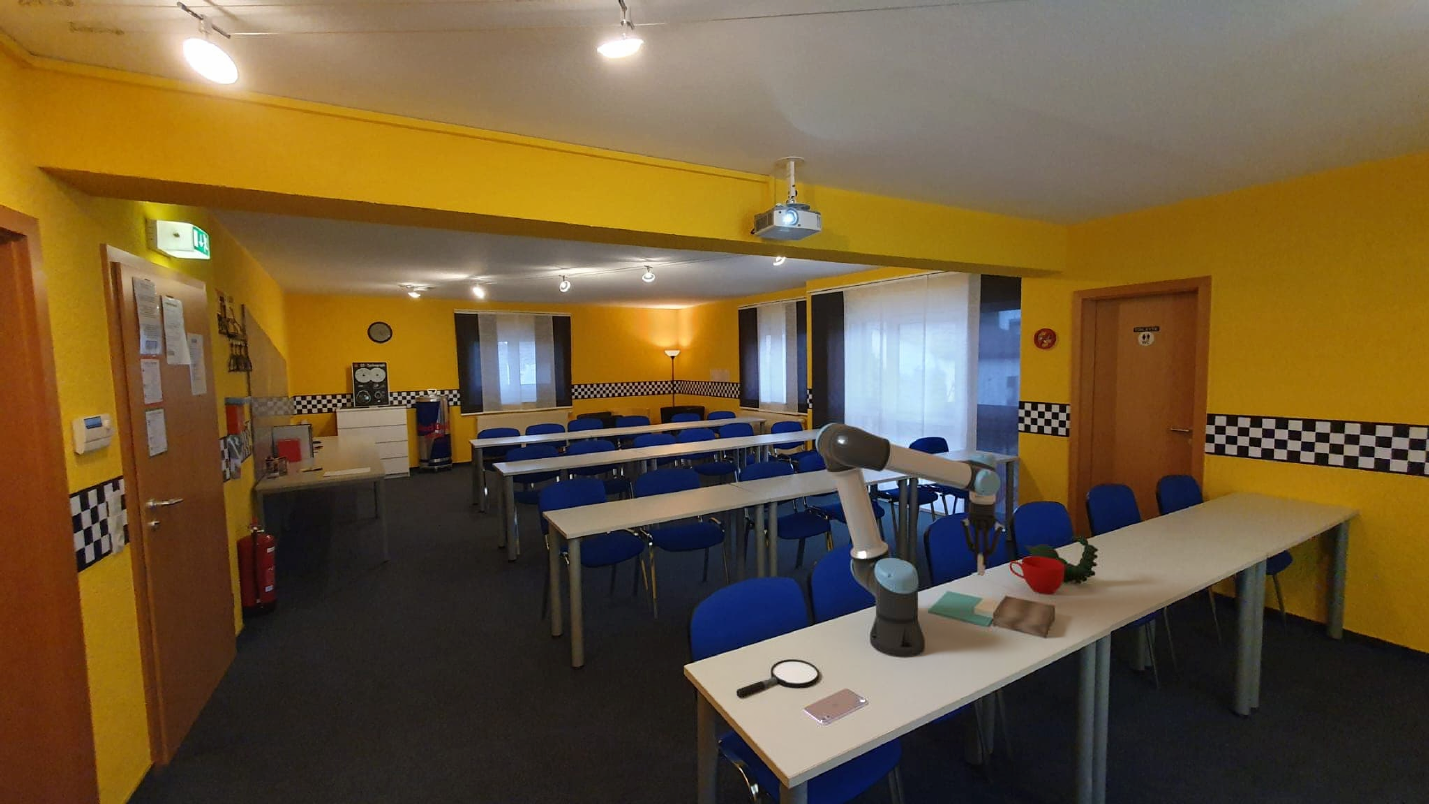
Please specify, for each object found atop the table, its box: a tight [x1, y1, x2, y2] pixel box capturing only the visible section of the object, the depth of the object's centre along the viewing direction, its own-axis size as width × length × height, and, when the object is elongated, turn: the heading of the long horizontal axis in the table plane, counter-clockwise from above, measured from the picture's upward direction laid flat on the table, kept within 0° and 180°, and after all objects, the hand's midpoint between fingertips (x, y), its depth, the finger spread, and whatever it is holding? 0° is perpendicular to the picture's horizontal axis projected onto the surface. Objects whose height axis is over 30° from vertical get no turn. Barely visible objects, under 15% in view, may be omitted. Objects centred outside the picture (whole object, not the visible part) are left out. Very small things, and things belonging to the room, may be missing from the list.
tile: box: [974, 598, 1001, 618], centre depth 183 cm, size 6×9×2 cm, turn 137°
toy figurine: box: [1024, 535, 1099, 585], centre depth 210 cm, size 9×19×25 cm
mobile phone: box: [803, 688, 868, 726], centre depth 136 cm, size 8×1×15 cm
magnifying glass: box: [736, 658, 820, 699], centre depth 147 cm, size 12×24×2 cm, turn 121°
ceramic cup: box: [1009, 556, 1065, 595], centre depth 200 cm, size 13×17×10 cm
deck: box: [992, 595, 1056, 639], centre depth 176 cm, size 14×16×4 cm
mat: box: [927, 590, 1001, 628], centre depth 187 cm, size 18×20×1 cm
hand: (981, 574), depth 183 cm, fingers closed
